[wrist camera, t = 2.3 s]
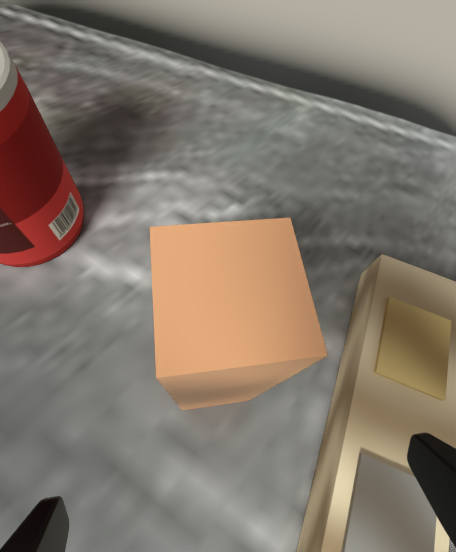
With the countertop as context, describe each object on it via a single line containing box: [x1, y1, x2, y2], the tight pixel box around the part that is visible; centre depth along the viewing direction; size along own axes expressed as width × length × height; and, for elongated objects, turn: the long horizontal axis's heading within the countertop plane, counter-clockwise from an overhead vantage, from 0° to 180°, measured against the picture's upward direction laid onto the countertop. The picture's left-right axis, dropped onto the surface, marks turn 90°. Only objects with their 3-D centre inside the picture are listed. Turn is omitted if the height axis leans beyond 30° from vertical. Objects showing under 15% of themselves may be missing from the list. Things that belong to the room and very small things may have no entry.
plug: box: [150, 218, 328, 410], centre depth 14 cm, size 4×4×13 cm
